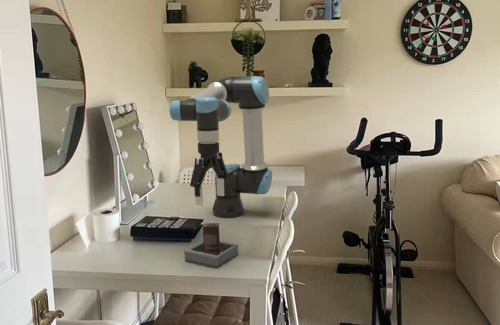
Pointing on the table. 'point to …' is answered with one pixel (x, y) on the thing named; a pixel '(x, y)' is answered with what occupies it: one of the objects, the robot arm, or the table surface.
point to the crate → (215, 261)
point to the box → (211, 238)
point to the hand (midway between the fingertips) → (210, 200)
